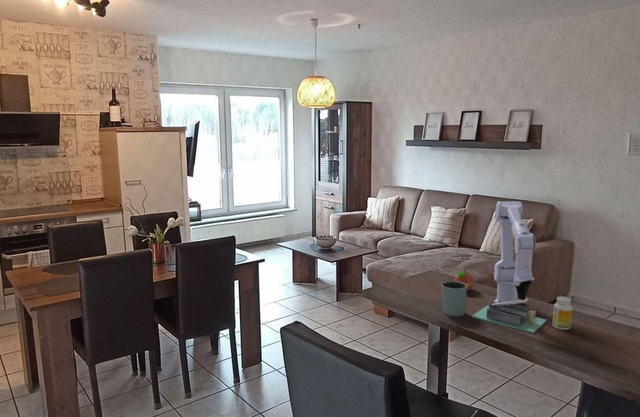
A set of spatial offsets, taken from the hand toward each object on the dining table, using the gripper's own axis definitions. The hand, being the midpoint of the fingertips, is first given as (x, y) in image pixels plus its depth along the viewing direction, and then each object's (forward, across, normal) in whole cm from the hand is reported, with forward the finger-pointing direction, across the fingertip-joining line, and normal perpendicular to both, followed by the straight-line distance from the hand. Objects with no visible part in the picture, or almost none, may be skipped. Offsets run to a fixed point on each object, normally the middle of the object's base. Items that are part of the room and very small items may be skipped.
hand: (521, 299), depth 187 cm
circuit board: (+9, 0, +5) cm, 10 cm away
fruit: (+10, +22, +34) cm, 41 cm away
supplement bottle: (+10, +6, -13) cm, 17 cm away
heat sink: (+9, 0, +3) cm, 9 cm away
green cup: (+10, -7, +25) cm, 27 cm away
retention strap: (+3, 0, +5) cm, 6 cm away
